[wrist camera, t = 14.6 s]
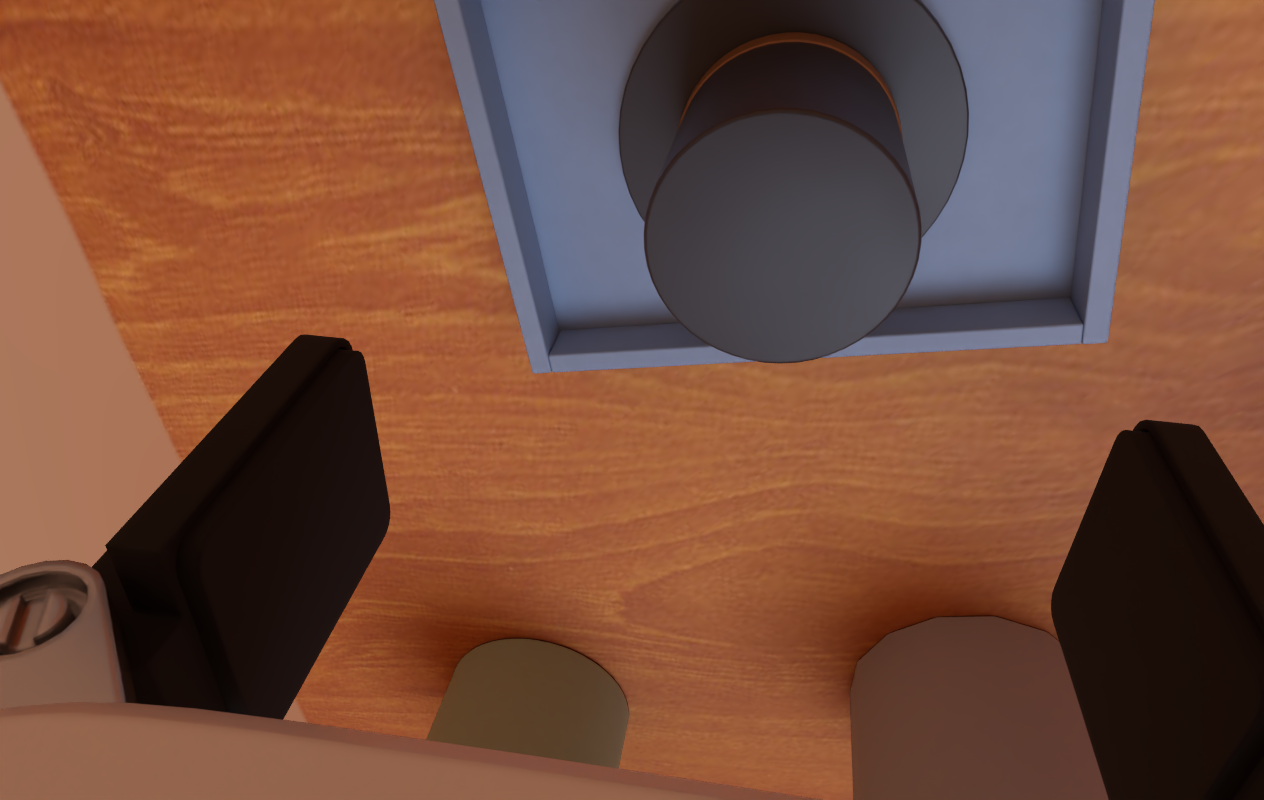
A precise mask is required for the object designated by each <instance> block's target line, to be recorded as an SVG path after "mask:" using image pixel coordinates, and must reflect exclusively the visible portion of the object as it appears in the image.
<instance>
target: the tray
mask: <svg viewBox="0 0 1264 800" xmlns="http://www.w3.org/2000/svg"><path fill="white" fill-rule="evenodd" d="M678 1H679V0H434V2H435V6H436V10H437V14H438V17H439V21H440V25H441V29H442V32H443V36H444V40H445V44H446V48H447V51H448V55H449V59H450V63H451V66H452V70H453V74H454V78H455V81H456V85H457V89H458V93H459V97H460V100H461V104H462V108H463V112H464V115H465V119H466V123H467V127H468V131H469V134H470V138H471V142H472V146H473V149H474V153H475V157H476V161H477V165H478V168H479V172H480V176H481V180H482V183H483V187H484V191H485V195H486V199H487V202H488V206H489V210H490V214H491V217H492V221H493V225H494V229H495V232H496V236H497V240H498V244H499V248H500V251H501V255H502V259H503V263H504V266H505V270H506V274H507V278H508V282H509V285H510V289H511V293H512V297H513V300H514V304H515V308H516V312H517V316H518V319H519V323H520V327H521V331H522V334H523V338H524V342H525V346H526V350H527V353H528V357H529V361H530V365H531V368H532V372H533V373H549V372H551V371H553V372H568V371H587V370H605V369H623V368H642V367H660V366H679V365H697V364H716V363H734V362H753V361H752V360H747V359H743V358H740V357H736V356H732V355H730V354H727V353H725V352H723V351H720V350H718V349H716V348H714V347H712V346H710V345H708V344H707V343H705V342H703V341H702V340H700V339H699V338H697V337H696V336H695V335H693V334H692V333H690V332H689V331H688V330H687V329H686V328H685V327H684V326H683V325H682V324H680V323H679V322H678V321H677V319H676V318H675V317H674V316H673V315H672V314H671V312H670V311H669V310H668V309H667V307H666V306H665V304H664V303H663V301H662V300H661V298H660V296H659V295H658V293H657V291H656V289H655V286H654V284H653V282H652V280H651V277H650V274H649V271H648V267H647V263H646V258H645V252H644V224H645V222H644V221H643V219H642V218H641V216H640V215H639V213H638V211H637V209H636V207H635V204H634V202H633V200H632V198H631V196H630V194H629V190H628V187H627V184H626V181H625V178H624V175H623V170H622V164H621V159H620V153H619V133H618V130H619V118H620V108H621V103H622V99H623V94H624V89H625V86H626V83H627V80H628V77H629V74H630V72H631V69H632V66H633V64H634V62H635V60H636V58H637V56H638V54H639V52H640V50H641V48H642V46H643V45H644V43H645V42H646V40H647V39H648V37H649V36H650V34H651V33H652V31H653V30H654V28H655V27H656V26H657V24H658V23H659V21H660V20H661V19H662V18H663V17H664V16H665V15H666V13H667V12H668V11H669V10H670V9H671V8H672V7H673V6H674V4H675V3H677V2H678ZM921 1H922V2H923V4H924V5H925V6H926V7H927V8H928V9H929V11H930V12H931V13H932V14H933V15H934V17H935V18H936V19H937V21H938V22H939V24H940V26H941V27H942V29H943V30H944V32H945V34H946V35H947V37H948V39H949V40H950V42H951V44H952V47H953V49H954V51H955V54H956V56H957V59H958V61H959V63H960V66H961V69H962V73H963V77H964V81H965V85H966V89H967V98H968V107H969V131H968V141H967V147H966V152H965V158H964V162H963V165H962V168H961V171H960V175H959V178H958V181H957V183H956V185H955V187H954V190H953V192H952V194H951V196H950V198H949V200H948V202H947V204H946V205H945V207H944V209H943V210H942V212H941V213H940V215H939V217H938V218H937V220H936V221H935V223H934V224H933V225H932V226H931V227H930V229H929V230H928V231H927V232H926V234H925V235H924V236H923V237H922V242H921V249H920V255H919V260H918V264H917V267H916V270H915V274H914V276H913V279H912V281H911V283H910V285H909V287H908V289H907V291H906V293H905V295H904V296H903V298H902V299H901V301H900V302H899V304H898V305H897V307H896V308H895V309H894V310H893V311H892V313H891V314H890V315H889V316H888V317H887V319H885V320H884V321H883V322H882V323H881V324H880V325H879V326H878V327H877V328H876V329H875V330H874V331H872V332H871V333H869V334H868V335H867V336H865V337H864V338H863V339H861V340H860V341H858V342H856V343H854V344H853V345H851V346H849V347H847V348H845V349H843V350H841V351H838V352H836V353H833V354H831V355H828V356H824V357H821V358H827V357H845V356H863V355H882V354H900V353H919V352H937V351H956V350H974V349H993V348H1011V347H1030V346H1048V345H1067V344H1080V343H1081V342H1082V343H1083V344H1092V343H1107V342H1108V336H1109V329H1110V322H1111V314H1112V307H1113V300H1114V292H1115V285H1116V278H1117V271H1118V263H1119V256H1120V249H1121V242H1122V234H1123V227H1124V220H1125V212H1126V205H1127V198H1128V191H1129V183H1130V176H1131V169H1132V162H1133V154H1134V147H1135V140H1136V132H1137V125H1138V118H1139V111H1140V103H1141V96H1142V89H1143V82H1144V74H1145V67H1146V60H1147V52H1148V45H1149V38H1150V31H1151V23H1152V16H1153V9H1154V1H1155V0H921Z"/></svg>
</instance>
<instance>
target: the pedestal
mask: <svg viewBox="0 0 1264 800" xmlns="http://www.w3.org/2000/svg"><path fill="white" fill-rule="evenodd" d="M628 718H629V711H628V705H627V701H626V698H625V696H624V694H623V692H622V690H621V689H620V687H619V686H618V684H617V683H616V682H615V680H614V679H613V678H612V677H611V676H610V675H609V674H608V673H607V672H606V671H605V670H604V669H603V668H601V667H600V666H599V665H597V664H596V663H595V662H593V661H591V660H590V659H588V658H586V657H585V656H583V655H581V654H579V653H577V652H575V651H573V650H570V649H568V648H565V647H562V646H559V645H556V644H552V643H549V642H544V641H539V640H531V639H502V640H497V641H492V642H489V643H486V644H483V645H480V646H478V647H476V648H474V649H473V650H471V651H470V652H469V653H467V654H466V655H465V656H464V657H463V658H462V659H461V660H460V662H459V663H458V665H457V666H456V669H455V671H454V674H453V676H452V678H451V681H450V683H449V686H448V688H447V691H446V693H445V695H444V698H443V700H442V703H441V705H440V707H439V710H438V712H437V715H436V717H435V720H434V722H433V724H432V727H431V729H430V732H429V734H428V736H427V739H426V740H430V741H437V742H443V743H450V744H457V745H464V746H471V747H477V748H484V749H491V750H498V751H505V752H512V753H518V754H525V755H532V756H539V757H545V758H552V759H559V760H565V761H572V762H578V763H585V764H592V765H598V766H605V767H612V768H618V769H619V764H620V759H621V754H622V749H623V744H624V739H625V734H626V730H627V725H628Z"/></svg>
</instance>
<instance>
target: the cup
mask: <svg viewBox="0 0 1264 800" xmlns="http://www.w3.org/2000/svg"><path fill="white" fill-rule="evenodd" d="M850 715H851V744H852V773H853V800H1109V799H1108V796H1107V793H1106V789H1105V786H1104V783H1103V780H1102V776H1101V773H1100V770H1099V767H1098V764H1097V760H1096V757H1095V754H1094V751H1093V748H1092V744H1091V741H1090V738H1089V735H1088V732H1087V728H1086V725H1085V722H1084V719H1083V715H1082V712H1081V709H1080V706H1079V703H1078V699H1077V696H1076V693H1075V690H1074V687H1073V683H1072V680H1071V677H1070V674H1069V670H1068V667H1067V664H1066V661H1065V658H1064V654H1063V651H1062V648H1061V645H1060V642H1059V641H1057V640H1056V639H1055V638H1054V637H1053V636H1051V635H1050V634H1049V633H1048V632H1045V631H1042V630H1038V629H1035V628H1032V627H1029V626H1025V625H1022V624H1019V623H1015V622H1012V621H1009V620H1005V619H1002V618H999V617H995V616H982V617H936V618H933V619H930V620H928V621H925V622H922V623H919V624H916V625H913V626H910V627H907V628H904V629H901V630H898V631H895V632H892V633H889V634H887V635H886V636H885V637H884V638H883V639H882V640H881V641H880V642H879V643H878V644H876V645H875V646H874V647H873V648H872V649H871V650H870V651H869V652H868V653H867V654H865V655H864V656H863V657H862V658H861V659H860V660H859V661H858V662H857V666H856V670H855V674H854V678H853V683H852V687H851V691H850Z"/></svg>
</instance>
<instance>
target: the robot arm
mask: <svg viewBox="0 0 1264 800" xmlns="http://www.w3.org/2000/svg"><path fill="white" fill-rule="evenodd" d="M389 521H390V504H389V498H388V492H387V486H386V480H385V475H384V469H383V463H382V457H381V451H380V445H379V440H378V434H377V428H376V422H375V416H374V410H373V405H372V399H371V393H370V387H369V381H368V375H367V370H366V364H365V360H364V357H363V355H362V353H361V352H359V351H353V350H352V346H351V345H350V343H349V341H347V340H346V339H344V338H334V337H324V336H314V335H300V336H298V337H297V338H296V339H295V340H294V341H293V342H292V343H291V344H290V345H289V346H288V347H287V348H286V350H285V351H284V352H283V353H282V354H281V355H280V356H279V357H278V358H277V359H276V360H275V362H274V363H273V364H272V365H271V366H270V367H269V368H268V369H267V370H266V371H265V372H264V373H263V375H262V376H261V377H260V378H259V379H258V380H257V381H256V382H255V383H254V384H253V385H252V387H251V388H250V389H249V390H248V391H247V392H246V393H245V394H244V395H243V396H242V397H241V398H240V400H239V401H238V402H237V403H236V404H235V405H234V406H233V407H232V408H231V409H230V410H229V412H228V413H227V414H226V415H225V416H224V417H223V418H222V419H221V420H220V421H219V422H218V423H217V425H216V426H215V427H214V428H213V429H212V430H211V431H210V432H209V433H208V434H207V435H206V437H205V438H204V439H203V440H202V441H201V442H200V443H199V444H198V445H197V446H196V447H195V449H194V450H193V451H192V452H191V453H190V454H189V455H188V456H187V457H186V458H185V459H184V460H183V462H182V463H181V464H180V465H179V466H178V467H177V468H176V469H175V470H174V471H173V472H172V474H171V475H170V476H169V477H168V478H167V479H166V480H165V481H164V482H163V483H162V485H161V486H160V487H159V488H158V489H157V490H156V491H155V492H154V493H153V494H152V495H151V496H150V497H149V499H148V500H147V501H146V502H145V503H144V504H143V505H142V506H141V507H140V508H139V509H138V510H137V512H136V513H135V514H134V515H133V516H132V517H131V518H130V519H129V520H128V521H127V522H126V524H125V525H124V526H123V527H122V528H121V529H120V530H119V532H117V533H116V534H115V536H114V537H113V538H112V539H111V540H110V541H109V542H108V543H107V544H106V545H105V546H106V548H107V551H106V552H105V553H104V555H103V556H102V557H101V558H100V559H99V560H98V561H97V562H96V563H95V564H94V565H93V566H92V568H91V567H90V566H88V565H87V564H84V563H79V562H75V561H69V560H58V561H43V562H39V563H35V564H30V565H26V566H21V567H19V568H16V569H14V570H11V571H9V572H7V573H4V574H1V575H0V800H821V799H815V798H808V797H802V796H795V795H789V794H782V793H776V792H769V791H763V790H756V789H749V788H743V787H736V786H730V785H723V784H717V783H710V782H704V781H697V780H691V779H684V778H678V777H671V776H664V775H658V774H651V773H645V772H638V771H631V770H625V769H618V768H612V767H605V766H598V765H592V764H585V763H578V762H572V761H565V760H559V759H552V758H545V757H539V756H532V755H525V754H518V753H512V752H505V751H498V750H491V749H484V748H477V747H471V746H464V745H457V744H450V743H443V742H437V741H430V740H423V739H416V738H409V737H402V736H396V735H389V734H382V733H375V732H368V731H362V730H355V729H348V728H341V727H334V726H327V725H320V724H312V723H304V722H296V721H289V720H283V719H284V717H285V715H286V713H287V711H288V710H289V708H290V706H291V704H292V702H293V701H294V699H295V697H296V695H297V694H298V692H299V690H300V688H301V686H302V684H303V683H304V681H305V679H306V677H307V675H308V674H309V672H310V670H311V668H312V666H313V665H314V663H315V661H316V659H317V657H318V656H319V654H320V652H321V650H322V648H323V647H324V645H325V643H326V641H327V639H328V638H329V636H330V634H331V632H332V630H333V629H334V627H335V625H336V623H337V621H338V620H339V618H340V616H341V614H342V612H343V611H344V609H345V607H346V605H347V603H348V602H349V600H350V598H351V596H352V594H353V592H354V591H355V589H356V587H357V585H358V583H359V582H360V580H361V578H362V576H363V574H364V573H365V571H366V569H367V567H368V565H369V564H370V562H371V560H372V558H373V556H374V555H375V553H376V551H377V549H378V547H379V546H380V544H381V542H382V540H383V538H384V537H385V534H386V532H387V529H388V526H389ZM1051 612H1052V618H1053V622H1054V626H1055V629H1056V632H1057V635H1058V638H1059V642H1060V645H1061V648H1062V651H1063V654H1064V658H1065V661H1066V664H1067V667H1068V670H1069V674H1070V677H1071V680H1072V683H1073V687H1074V690H1075V693H1076V696H1077V699H1078V703H1079V706H1080V709H1081V712H1082V715H1083V719H1084V722H1085V725H1086V728H1087V732H1088V735H1089V738H1090V741H1091V744H1092V748H1093V751H1094V754H1095V757H1096V760H1097V764H1098V767H1099V770H1100V773H1101V776H1102V780H1103V783H1104V786H1105V789H1106V793H1107V796H1108V799H1109V800H1264V525H1263V523H1262V522H1261V520H1260V518H1259V517H1258V515H1257V514H1256V512H1255V511H1254V509H1253V507H1252V506H1251V504H1250V503H1249V501H1248V500H1247V498H1246V497H1245V495H1244V493H1243V492H1242V490H1241V489H1240V487H1239V486H1238V484H1237V482H1236V481H1235V479H1234V478H1233V476H1232V475H1231V473H1230V472H1229V470H1228V468H1227V467H1226V465H1225V464H1224V462H1223V461H1222V459H1221V458H1220V456H1219V454H1218V453H1217V451H1216V450H1215V448H1214V447H1213V445H1212V443H1211V442H1210V440H1209V439H1208V437H1207V436H1206V434H1205V433H1204V431H1203V430H1202V429H1201V428H1200V427H1199V426H1196V425H1192V424H1182V423H1172V422H1162V421H1152V420H1143V421H1140V422H1139V423H1138V424H1137V425H1136V426H1135V428H1134V429H1133V431H1130V430H1124V431H1121V432H1120V433H1119V434H1118V436H1117V438H1116V440H1115V442H1114V444H1113V447H1112V449H1111V451H1110V454H1109V456H1108V459H1107V461H1106V463H1105V466H1104V468H1103V471H1102V473H1101V476H1100V478H1099V480H1098V483H1097V485H1096V488H1095V490H1094V493H1093V495H1092V497H1091V500H1090V502H1089V505H1088V507H1087V510H1086V512H1085V514H1084V517H1083V519H1082V522H1081V524H1080V526H1079V529H1078V531H1077V534H1076V536H1075V539H1074V541H1073V543H1072V546H1071V548H1070V551H1069V553H1068V556H1067V558H1066V560H1065V563H1064V565H1063V568H1062V570H1061V572H1060V575H1059V577H1058V580H1057V582H1056V585H1055V587H1054V590H1053V594H1052V600H1051Z"/></svg>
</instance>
